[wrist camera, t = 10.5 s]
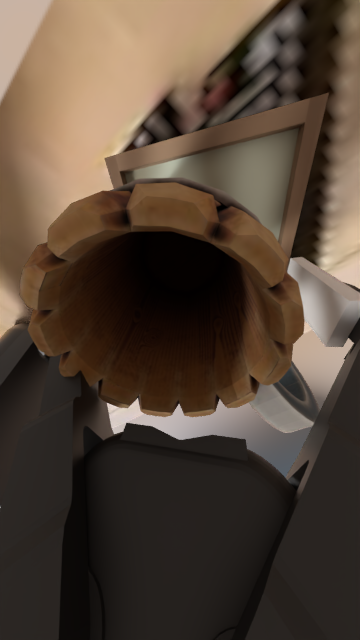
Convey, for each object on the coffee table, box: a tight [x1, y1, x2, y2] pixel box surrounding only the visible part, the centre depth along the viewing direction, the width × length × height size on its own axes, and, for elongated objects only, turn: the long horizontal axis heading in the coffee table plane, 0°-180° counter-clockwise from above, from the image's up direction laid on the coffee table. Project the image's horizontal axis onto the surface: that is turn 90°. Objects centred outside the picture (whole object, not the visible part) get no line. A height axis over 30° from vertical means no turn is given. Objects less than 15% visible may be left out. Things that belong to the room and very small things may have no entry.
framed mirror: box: [105, 93, 329, 272], centre depth 19 cm, size 16×20×5 cm
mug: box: [19, 177, 320, 433], centre depth 12 cm, size 16×11×15 cm
